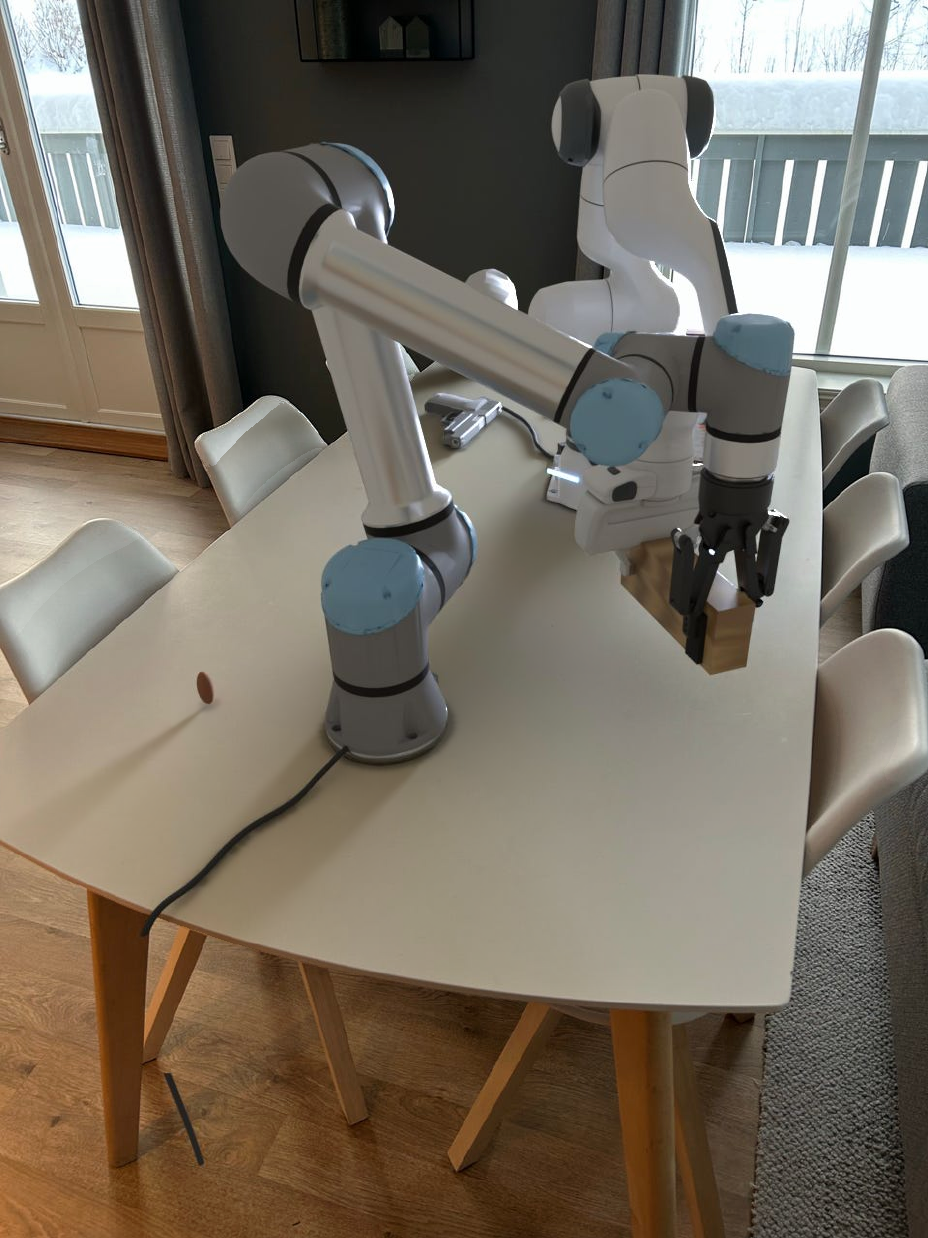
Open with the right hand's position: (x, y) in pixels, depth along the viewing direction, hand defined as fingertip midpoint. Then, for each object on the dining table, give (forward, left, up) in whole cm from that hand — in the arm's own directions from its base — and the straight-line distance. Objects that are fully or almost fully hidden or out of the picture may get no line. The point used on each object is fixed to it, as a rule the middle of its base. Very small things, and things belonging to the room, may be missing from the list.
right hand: (648, 569), depth 120 cm
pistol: (-93, -28, -12) cm, 97 cm away
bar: (+8, +3, -3) cm, 9 cm away
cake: (-78, +26, -12) cm, 83 cm away
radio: (-119, +38, -12) cm, 126 cm away
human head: (-140, -18, -12) cm, 142 cm away
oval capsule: (+10, -58, -12) cm, 61 cm away
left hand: (+16, +5, -3) cm, 17 cm away
